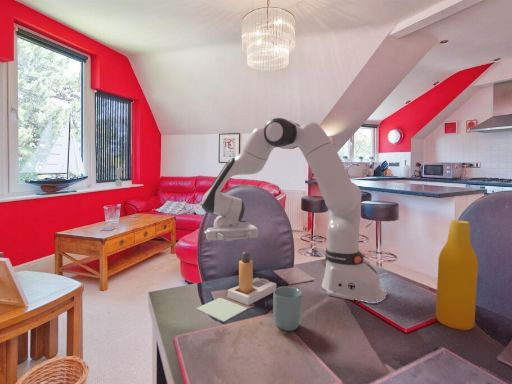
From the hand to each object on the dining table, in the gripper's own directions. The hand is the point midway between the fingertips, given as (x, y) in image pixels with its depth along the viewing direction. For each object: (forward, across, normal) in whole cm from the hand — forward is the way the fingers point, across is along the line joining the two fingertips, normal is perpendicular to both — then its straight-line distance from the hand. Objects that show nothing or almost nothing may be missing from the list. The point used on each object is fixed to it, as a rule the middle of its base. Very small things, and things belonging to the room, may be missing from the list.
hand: (236, 237), depth 108 cm
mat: (+18, -9, +18) cm, 27 cm away
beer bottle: (+43, +53, +18) cm, 71 cm away
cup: (+32, +7, +18) cm, 38 cm away
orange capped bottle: (+12, 0, +17) cm, 21 cm away
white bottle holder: (+10, +3, +18) cm, 21 cm away
